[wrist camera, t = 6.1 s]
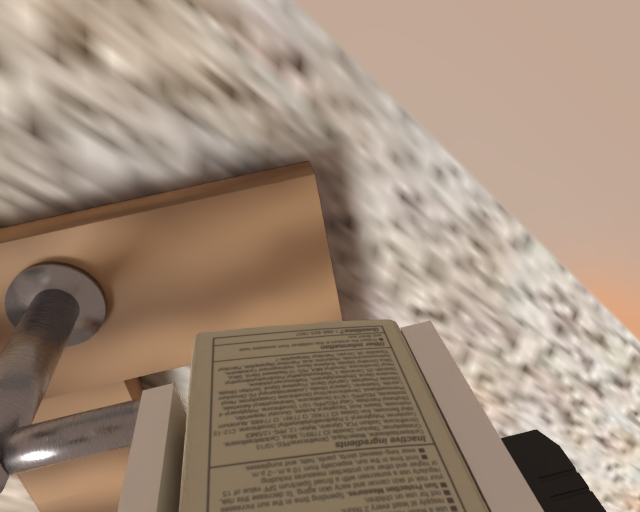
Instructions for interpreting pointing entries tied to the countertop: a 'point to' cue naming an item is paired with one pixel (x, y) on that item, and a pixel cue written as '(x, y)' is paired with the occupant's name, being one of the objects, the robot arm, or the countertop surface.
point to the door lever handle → (52, 371)
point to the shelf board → (169, 296)
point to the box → (317, 424)
